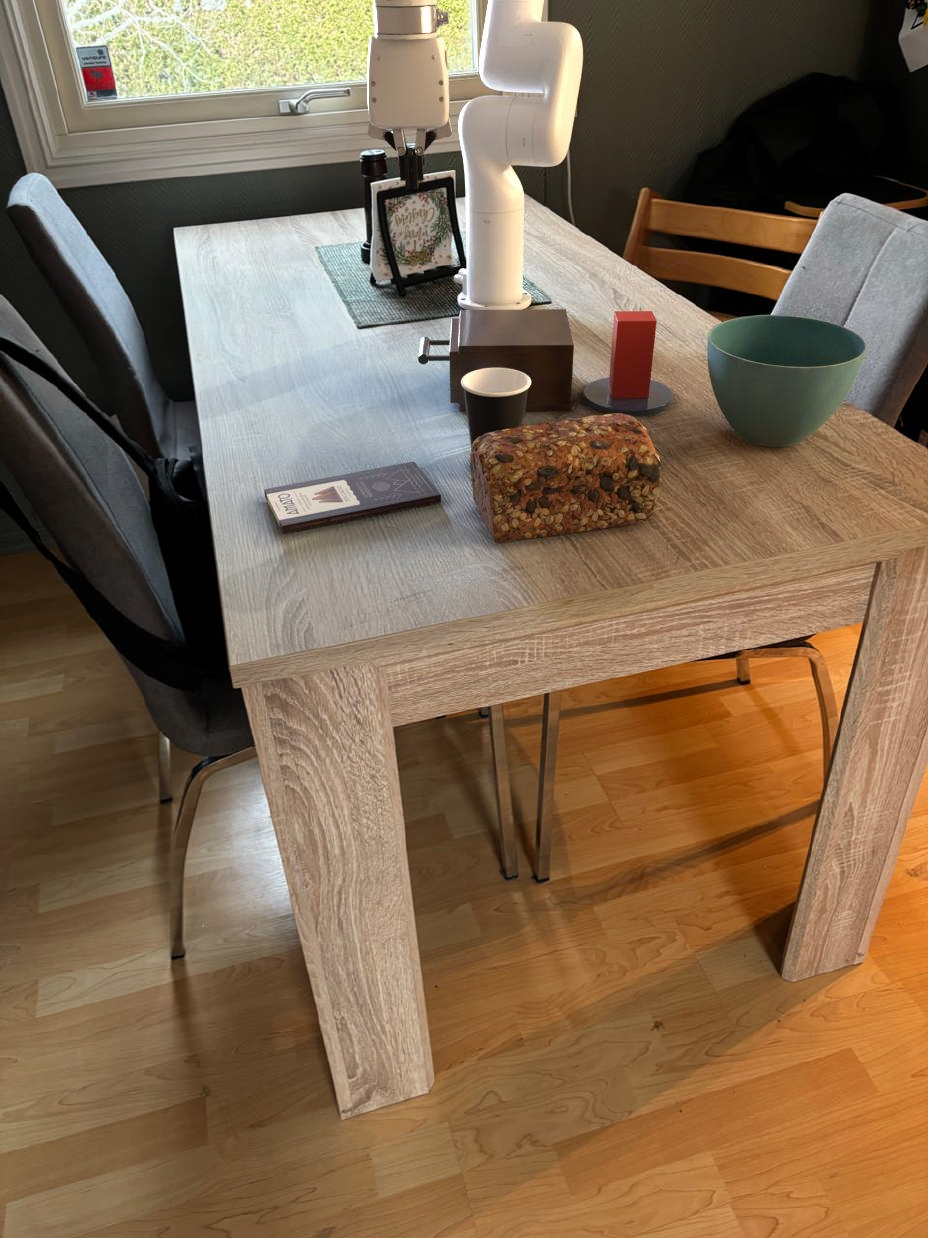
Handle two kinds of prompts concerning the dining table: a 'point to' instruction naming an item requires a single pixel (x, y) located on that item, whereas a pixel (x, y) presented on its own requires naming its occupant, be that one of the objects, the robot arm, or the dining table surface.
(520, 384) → the dixie cup
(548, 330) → the cabinet
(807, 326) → the green bowl
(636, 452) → the bread
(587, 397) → the plate
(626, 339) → the red rectangular block
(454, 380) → the drawer
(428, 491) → the chocolate bar
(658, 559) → the dining table surface
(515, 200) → the robot arm
